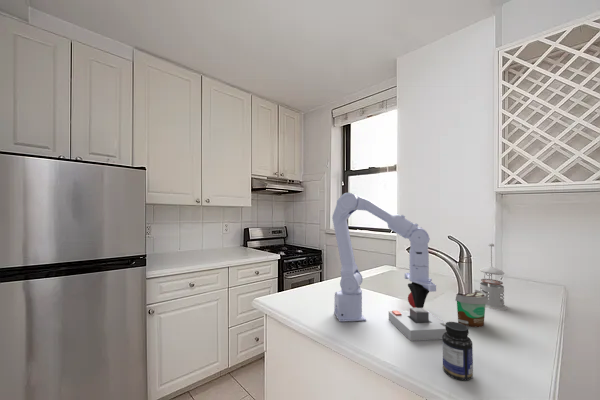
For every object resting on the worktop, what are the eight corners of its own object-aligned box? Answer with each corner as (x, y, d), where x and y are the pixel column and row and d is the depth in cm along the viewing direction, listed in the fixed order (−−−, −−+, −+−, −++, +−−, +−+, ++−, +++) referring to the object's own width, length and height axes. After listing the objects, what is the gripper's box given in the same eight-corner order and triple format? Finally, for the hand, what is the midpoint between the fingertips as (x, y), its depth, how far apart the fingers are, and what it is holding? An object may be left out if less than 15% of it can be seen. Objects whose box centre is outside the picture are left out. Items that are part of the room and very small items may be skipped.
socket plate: (410, 340, 75) (410, 328, 75) (388, 320, 89) (388, 309, 89) (454, 338, 77) (454, 326, 77) (426, 318, 91) (426, 308, 91)
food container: (475, 332, 81) (474, 300, 81) (455, 324, 86) (455, 294, 87) (496, 324, 87) (495, 294, 87) (476, 317, 92) (476, 289, 92)
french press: (480, 307, 101) (480, 244, 102) (473, 298, 112) (472, 240, 113) (511, 311, 98) (510, 245, 98) (501, 301, 108) (500, 242, 109)
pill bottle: (459, 364, 64) (459, 319, 64) (479, 380, 58) (479, 331, 58) (436, 366, 63) (436, 320, 64) (454, 382, 57) (454, 332, 58)
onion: (426, 313, 95) (426, 291, 96) (409, 311, 97) (409, 290, 97) (422, 307, 101) (421, 286, 101) (406, 305, 102) (406, 285, 102)
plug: (416, 332, 81) (416, 312, 81) (409, 326, 85) (409, 307, 85) (428, 331, 81) (428, 312, 81) (421, 325, 85) (421, 307, 85)
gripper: (445, 269, 77) (445, 315, 76) (417, 260, 91) (417, 298, 91) (423, 270, 76) (423, 316, 76) (398, 260, 90) (399, 299, 90)
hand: (419, 307), depth 83 cm, fingers closed
